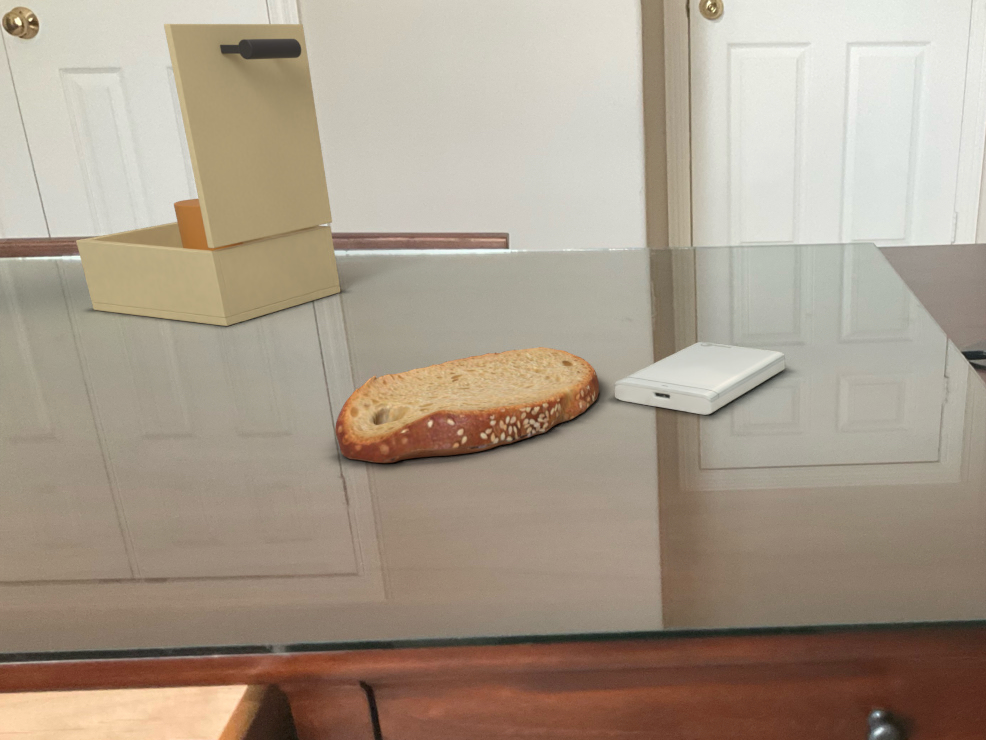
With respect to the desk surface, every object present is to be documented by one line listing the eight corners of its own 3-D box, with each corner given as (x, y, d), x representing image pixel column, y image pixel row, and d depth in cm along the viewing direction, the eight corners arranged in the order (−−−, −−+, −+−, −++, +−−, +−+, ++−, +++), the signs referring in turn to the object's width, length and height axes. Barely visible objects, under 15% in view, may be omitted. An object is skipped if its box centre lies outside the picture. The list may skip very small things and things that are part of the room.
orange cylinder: (198, 301, 107) (178, 207, 103) (189, 291, 111) (169, 200, 108) (257, 294, 110) (240, 202, 106) (246, 284, 114) (229, 196, 110)
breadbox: (93, 310, 107) (75, 240, 105) (215, 279, 120) (203, 216, 118) (226, 326, 101) (211, 252, 98) (340, 292, 114) (330, 226, 111)
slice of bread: (595, 372, 87) (592, 326, 85) (613, 450, 71) (610, 395, 69) (363, 385, 84) (356, 338, 82) (328, 469, 68) (318, 412, 66)
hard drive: (696, 340, 90) (613, 378, 80) (785, 352, 86) (711, 393, 76) (696, 359, 90) (614, 400, 80) (785, 372, 87) (711, 416, 77)
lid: (163, 23, 90) (203, 23, 89) (297, 24, 103) (334, 24, 102) (207, 247, 98) (245, 251, 97) (327, 222, 111) (362, 225, 110)
